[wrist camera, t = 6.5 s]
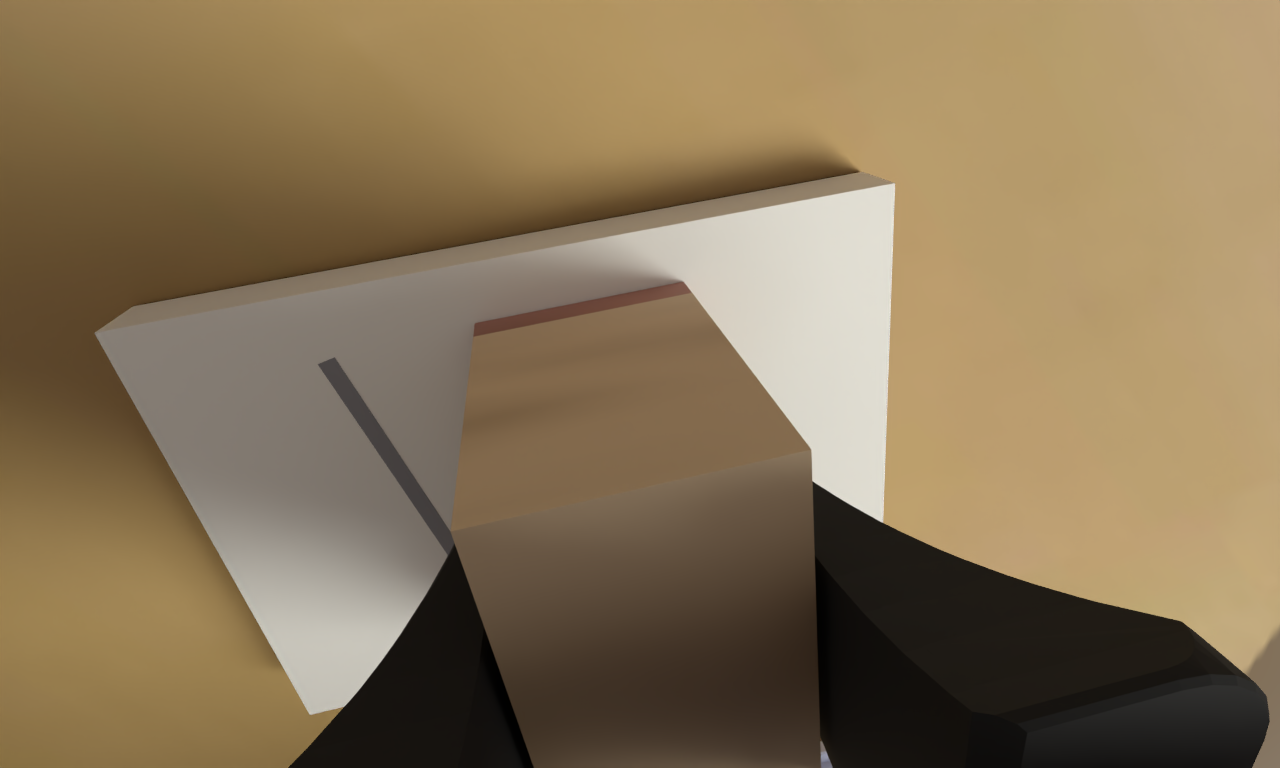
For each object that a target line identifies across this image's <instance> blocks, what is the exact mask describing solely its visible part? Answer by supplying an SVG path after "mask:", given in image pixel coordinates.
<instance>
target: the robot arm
mask: <svg viewBox="0 0 1280 768" xmlns="http://www.w3.org/2000/svg"><path fill="white" fill-rule="evenodd" d="M812 483H813V516H814V549H815V582H816V616H817V649H818V682H819V715H820V737H821V740H822V741H820V748H821V768H1252V766H1253V764H1254V762H1255V759H1256V757H1257V755H1258V753H1259V751H1260V748H1261V746H1262V744H1263V742H1264V739H1265V736H1266V732H1267V728H1268V725H1269V710H1268V704H1267V697H1266V695H1265V694H1264V693H1263V691H1262V690H1261V689H1260V688H1259V687H1258V686H1257V684H1256V683H1255V682H1254V681H1252V680H1251V679H1250V678H1249V677H1248V676H1247V675H1245V674H1244V673H1243V672H1242V671H1241V670H1239V669H1238V668H1237V667H1236V666H1235V665H1234V664H1232V663H1231V662H1230V661H1229V660H1228V659H1226V658H1225V657H1224V656H1223V655H1222V654H1221V653H1219V652H1218V651H1217V650H1216V649H1215V648H1213V647H1212V646H1211V645H1210V644H1209V643H1207V642H1206V641H1205V640H1204V639H1203V638H1202V637H1200V636H1199V635H1198V634H1197V633H1196V632H1194V631H1193V630H1192V629H1190V628H1189V627H1188V626H1186V625H1185V624H1184V623H1183V622H1181V621H1177V620H1173V619H1168V618H1164V617H1159V616H1155V615H1151V614H1146V613H1142V612H1138V611H1133V610H1129V609H1125V608H1120V607H1116V606H1112V605H1107V604H1103V603H1099V602H1094V601H1091V600H1087V599H1083V598H1079V597H1076V596H1073V595H1069V594H1066V593H1062V592H1059V591H1055V590H1052V589H1049V588H1045V587H1042V586H1038V585H1035V584H1032V583H1029V582H1026V581H1023V580H1020V579H1017V578H1013V577H1010V576H1007V575H1004V574H1002V573H999V572H996V571H993V570H991V569H988V568H985V567H983V566H980V565H977V564H975V563H972V562H969V561H967V560H964V559H961V558H959V557H956V556H954V555H951V554H949V553H946V552H944V551H942V550H939V549H937V548H935V547H932V546H930V545H928V544H926V543H924V542H922V541H919V540H917V539H915V538H913V537H911V536H909V535H906V534H904V533H902V532H900V531H898V530H896V529H894V528H892V527H890V526H888V525H886V524H884V523H882V522H880V521H878V520H877V519H875V518H873V517H871V516H869V515H868V514H866V513H864V512H862V511H860V510H859V509H857V508H855V507H853V506H852V505H850V504H848V503H846V502H845V501H843V500H841V499H840V498H838V497H836V496H835V495H833V494H832V493H830V492H829V491H827V490H826V489H824V488H822V487H821V486H819V485H818V484H816V483H815V482H813V481H812ZM288 768H534V766H533V764H532V761H531V758H530V755H529V752H528V749H527V747H526V744H525V741H524V738H523V735H522V733H521V730H520V727H519V724H518V721H517V718H516V716H515V713H514V710H513V707H512V704H511V701H510V699H509V696H508V693H507V690H506V687H505V684H504V682H503V679H502V676H501V673H500V670H499V667H498V665H497V662H496V659H495V656H494V653H493V650H492V648H491V645H490V642H489V639H488V636H487V633H486V631H485V628H484V625H483V622H482V619H481V617H480V614H479V611H478V608H477V605H476V602H475V600H474V597H473V594H472V591H471V588H470V585H469V583H468V580H467V577H466V574H465V571H464V568H463V566H462V563H461V560H460V557H459V554H458V551H457V549H456V546H455V543H454V545H453V547H452V549H451V551H450V553H449V555H448V556H447V558H446V560H445V562H444V564H443V565H442V567H441V569H440V571H439V572H438V574H437V576H436V578H435V580H434V581H433V583H432V585H431V587H430V588H429V590H428V592H427V593H426V595H425V597H424V598H423V600H422V601H421V603H420V604H419V606H418V608H417V609H416V611H415V612H414V614H413V615H412V617H411V619H410V620H409V622H408V623H407V625H406V626H405V628H404V629H403V631H402V633H401V634H400V635H399V637H398V638H397V640H396V641H395V643H394V644H393V646H392V647H391V648H390V650H389V651H388V653H387V654H386V655H385V657H384V658H383V659H382V661H381V662H380V663H379V665H378V666H377V667H376V669H375V670H374V671H373V673H372V674H371V675H370V677H369V678H368V679H367V680H366V682H365V683H364V684H363V686H362V687H361V688H360V689H359V691H358V692H357V693H356V694H355V695H354V696H353V698H352V699H351V700H350V701H349V702H348V703H347V704H346V705H345V707H344V708H343V709H342V710H341V711H340V712H339V713H338V715H337V716H336V717H335V718H334V719H333V720H332V721H331V722H330V724H329V725H328V726H327V727H326V728H325V729H324V730H323V731H322V733H321V734H320V735H319V736H318V737H317V738H316V739H315V740H314V742H313V743H312V744H311V745H310V746H309V747H308V748H307V749H306V750H305V751H304V752H303V753H302V754H301V755H300V756H299V757H298V758H297V759H296V760H295V761H294V762H293V763H292V764H291V765H290V766H289V767H288Z"/></svg>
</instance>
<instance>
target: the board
mask: <svg viewBox="0 0 1280 768" xmlns="http://www.w3.org/2000/svg"><path fill="white" fill-rule="evenodd" d="M894 199H895V183H893V182H890V181H887V180H885V179H882V178H879V177H876V176H873V175H870V174H867V173H864V172H859V173H853V174H848V175H842V176H837V177H831V178H826V179H821V180H815V181H810V182H804V183H799V184H794V185H788V186H783V187H777V188H772V189H766V190H761V191H756V192H750V193H745V194H739V195H734V196H728V197H723V198H718V199H712V200H707V201H701V202H696V203H691V204H685V205H680V206H674V207H669V208H663V209H658V210H653V211H647V212H642V213H636V214H631V215H626V216H620V217H615V218H609V219H604V220H598V221H593V222H588V223H582V224H577V225H571V226H566V227H560V228H555V229H550V230H544V231H539V232H533V233H528V234H523V235H517V236H512V237H506V238H501V239H495V240H490V241H485V242H479V243H474V244H468V245H463V246H458V247H452V248H447V249H441V250H436V251H430V252H425V253H420V254H414V255H409V256H403V257H398V258H392V259H387V260H382V261H376V262H371V263H365V264H360V265H355V266H349V267H344V268H338V269H333V270H327V271H322V272H317V273H311V274H306V275H300V276H295V277H290V278H284V279H279V280H273V281H268V282H262V283H257V284H252V285H246V286H241V287H235V288H230V289H224V290H219V291H214V292H208V293H203V294H197V295H192V296H187V297H181V298H176V299H170V300H165V301H159V302H154V303H149V304H143V305H138V306H133V307H131V308H130V309H128V310H127V311H125V312H124V313H122V314H121V315H120V316H118V317H117V318H115V319H114V320H112V321H111V322H109V323H108V324H106V325H105V326H104V327H102V328H101V329H99V330H98V331H96V332H95V335H96V337H97V339H98V341H99V342H100V344H101V346H102V348H103V349H104V351H105V353H106V355H107V356H108V358H109V360H110V362H111V364H112V365H113V367H114V369H115V371H116V372H117V374H118V376H119V378H120V379H121V381H122V383H123V385H124V387H125V388H126V390H127V392H128V394H129V395H130V397H131V399H132V401H133V403H134V404H135V406H136V408H137V410H138V411H139V413H140V415H141V417H142V418H143V420H144V422H145V424H146V426H147V427H148V429H149V431H150V433H151V434H152V436H153V438H154V440H155V441H156V443H157V445H158V447H159V449H160V450H161V452H162V454H163V456H164V457H165V459H166V461H167V463H168V465H169V466H170V468H171V470H172V472H173V473H174V475H175V477H176V479H177V480H178V482H179V484H180V486H181V488H182V489H183V491H184V493H185V495H186V496H187V498H188V500H189V502H190V503H191V505H192V507H193V509H194V511H195V512H196V514H197V516H198V518H199V519H200V521H201V523H202V525H203V527H204V528H205V530H206V532H207V534H208V535H209V537H210V539H211V541H212V542H213V544H214V546H215V548H216V550H217V551H218V553H219V555H220V557H221V558H222V560H223V562H224V564H225V565H226V567H227V569H228V571H229V573H230V574H231V576H232V578H233V580H234V581H235V583H236V585H237V587H238V589H239V590H240V592H241V594H242V596H243V597H244V599H245V601H246V603H247V604H248V606H249V608H250V610H251V612H252V613H253V615H254V617H255V619H256V620H257V622H258V624H259V626H260V627H261V629H262V631H263V633H264V635H265V636H266V638H267V640H268V642H269V643H270V645H271V647H272V649H273V651H274V652H275V654H276V656H277V658H278V659H279V661H280V663H281V665H282V666H283V668H284V670H285V672H286V674H287V675H288V677H289V679H290V681H291V682H292V684H293V686H294V688H295V689H296V691H297V693H298V695H299V697H300V698H301V700H302V702H303V704H304V705H305V707H306V709H307V711H308V713H309V714H310V715H312V714H316V713H320V712H324V711H328V710H332V709H337V708H341V707H345V705H346V704H347V703H348V702H349V701H350V700H351V699H352V698H353V696H354V695H355V694H356V693H357V692H358V691H359V689H360V688H361V687H362V686H363V684H364V683H365V682H366V680H367V679H368V678H369V677H370V675H371V674H372V673H373V671H374V670H375V669H376V667H377V666H378V665H379V663H380V662H381V661H382V659H383V658H384V657H385V655H386V654H387V653H388V651H389V650H390V648H391V647H392V646H393V644H394V643H395V641H396V640H397V638H398V637H399V635H400V634H401V633H402V631H403V629H404V628H405V626H406V625H407V623H408V622H409V620H410V619H411V617H412V615H413V614H414V612H415V611H416V609H417V608H418V606H419V604H420V603H421V601H422V600H423V598H424V597H425V595H426V593H427V592H428V590H429V588H430V587H431V585H432V583H433V581H434V580H435V578H436V576H437V574H438V572H439V571H440V569H441V567H442V565H443V564H444V562H445V560H446V558H447V556H448V555H449V553H450V551H451V549H452V547H453V545H454V540H453V537H452V534H451V532H450V531H451V522H452V514H453V505H454V497H455V488H456V479H457V471H458V462H459V454H460V445H461V437H462V428H463V419H464V411H465V402H466V394H467V385H468V377H469V368H470V359H471V351H472V342H473V334H474V325H475V323H479V322H484V321H489V320H494V319H499V318H504V317H509V316H514V315H519V314H524V313H529V312H534V311H539V310H544V309H549V308H554V307H559V306H564V305H569V304H574V303H579V302H584V301H589V300H594V299H599V298H604V297H609V296H614V295H619V294H624V293H629V292H634V291H639V290H644V289H649V288H654V287H659V286H664V285H669V284H674V283H679V282H684V283H685V284H686V285H687V287H688V288H689V289H690V291H691V292H692V293H693V294H694V296H695V297H696V298H697V300H698V301H699V302H700V304H701V305H702V306H703V308H704V309H705V310H706V312H707V313H708V314H709V316H710V317H711V318H712V319H713V321H714V322H715V323H716V325H717V326H718V327H719V329H720V330H721V331H722V333H723V334H724V335H725V337H726V338H727V339H728V341H729V342H730V343H731V344H732V346H733V347H734V348H735V350H736V351H737V352H738V354H739V355H740V356H741V358H742V359H743V360H744V362H745V363H746V364H747V365H748V367H749V368H750V369H751V371H752V372H753V373H754V375H755V376H756V377H757V379H758V380H759V381H760V383H761V384H762V385H763V387H764V388H765V389H766V390H767V392H768V393H769V394H770V396H771V397H772V398H773V400H774V401H775V402H776V404H777V405H778V406H779V408H780V409H781V410H782V412H783V413H784V414H785V415H786V417H787V418H788V419H789V421H790V422H791V423H792V425H793V426H794V427H795V429H796V430H797V431H798V433H799V434H800V435H801V437H802V438H803V439H804V440H805V442H806V443H807V444H808V446H809V447H810V448H811V450H812V481H813V482H815V483H816V484H818V485H819V486H821V487H822V488H824V489H826V490H827V491H829V492H830V493H832V494H833V495H835V496H836V497H838V498H840V499H841V500H843V501H845V502H846V503H848V504H850V505H852V506H853V507H855V508H857V509H859V510H860V511H862V512H864V513H866V514H868V515H869V516H871V517H873V518H875V519H877V520H878V521H880V522H882V523H883V508H884V480H885V452H886V424H887V396H888V368H889V340H890V311H891V283H892V255H893V227H894Z"/></svg>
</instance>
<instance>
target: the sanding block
mask: <svg viewBox="0 0 1280 768" xmlns="http://www.w3.org/2000/svg"><path fill="white" fill-rule="evenodd" d="M450 532H451V534H452V537H453V540H454V543H455V546H456V549H457V551H458V554H459V557H460V560H461V563H462V566H463V568H464V571H465V574H466V577H467V580H468V583H469V585H470V588H471V591H472V594H473V597H474V600H475V602H476V605H477V608H478V611H479V614H480V617H481V619H482V622H483V625H484V628H485V631H486V633H487V636H488V639H489V642H490V645H491V648H492V650H493V653H494V656H495V659H496V662H497V665H498V667H499V670H500V673H501V676H502V679H503V682H504V684H505V687H506V690H507V693H508V696H509V699H510V701H511V704H512V707H513V710H514V713H515V716H516V718H517V721H518V724H519V727H520V730H521V733H522V735H523V738H524V741H525V744H526V747H527V749H528V752H529V755H530V758H531V761H532V764H533V766H534V768H821V748H820V715H819V682H818V649H817V616H816V582H815V549H814V516H813V483H812V450H811V448H810V447H809V446H808V444H807V443H806V442H805V440H804V439H803V438H802V437H801V435H800V434H799V433H798V431H797V430H796V429H795V427H794V426H793V425H792V423H791V422H790V421H789V419H788V418H787V417H786V415H785V414H784V413H783V412H782V410H781V409H780V408H779V406H778V405H777V404H776V402H775V401H774V400H773V398H772V397H771V396H770V394H769V393H768V392H767V390H766V389H765V388H764V387H763V385H762V384H761V383H760V381H759V380H758V379H757V377H756V376H755V375H754V373H753V372H752V371H751V369H750V368H749V367H748V365H747V364H746V363H745V362H744V360H743V359H742V358H741V356H740V355H739V354H738V352H737V351H736V350H735V348H734V347H733V346H732V344H731V343H730V342H729V341H728V339H727V338H726V337H725V335H724V334H723V333H722V331H721V330H720V329H719V327H718V326H717V325H716V323H715V322H714V321H713V319H712V318H711V317H710V316H709V314H708V313H707V312H706V310H705V309H704V308H703V306H702V305H701V304H700V302H699V301H698V300H697V298H696V297H695V296H694V294H693V293H692V292H691V291H690V289H689V288H688V287H687V285H686V284H685V283H684V282H679V283H674V284H669V285H664V286H659V287H654V288H649V289H644V290H639V291H634V292H629V293H624V294H619V295H614V296H609V297H604V298H599V299H594V300H589V301H584V302H579V303H574V304H569V305H564V306H559V307H554V308H549V309H544V310H539V311H534V312H529V313H524V314H519V315H514V316H509V317H504V318H499V319H494V320H489V321H484V322H479V323H475V325H474V334H473V342H472V351H471V359H470V368H469V377H468V385H467V394H466V402H465V411H464V419H463V428H462V437H461V445H460V454H459V462H458V471H457V479H456V488H455V497H454V505H453V514H452V522H451V531H450Z"/></svg>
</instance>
